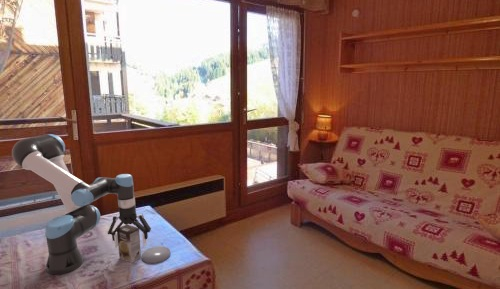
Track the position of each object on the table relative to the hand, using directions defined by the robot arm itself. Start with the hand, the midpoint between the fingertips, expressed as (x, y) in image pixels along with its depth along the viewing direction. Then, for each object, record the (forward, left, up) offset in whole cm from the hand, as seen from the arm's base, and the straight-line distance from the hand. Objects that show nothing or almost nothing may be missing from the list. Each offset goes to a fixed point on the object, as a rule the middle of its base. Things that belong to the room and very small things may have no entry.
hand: (131, 245), depth 148 cm
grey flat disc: (+12, +1, -7) cm, 14 cm away
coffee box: (-1, 0, -7) cm, 7 cm away
